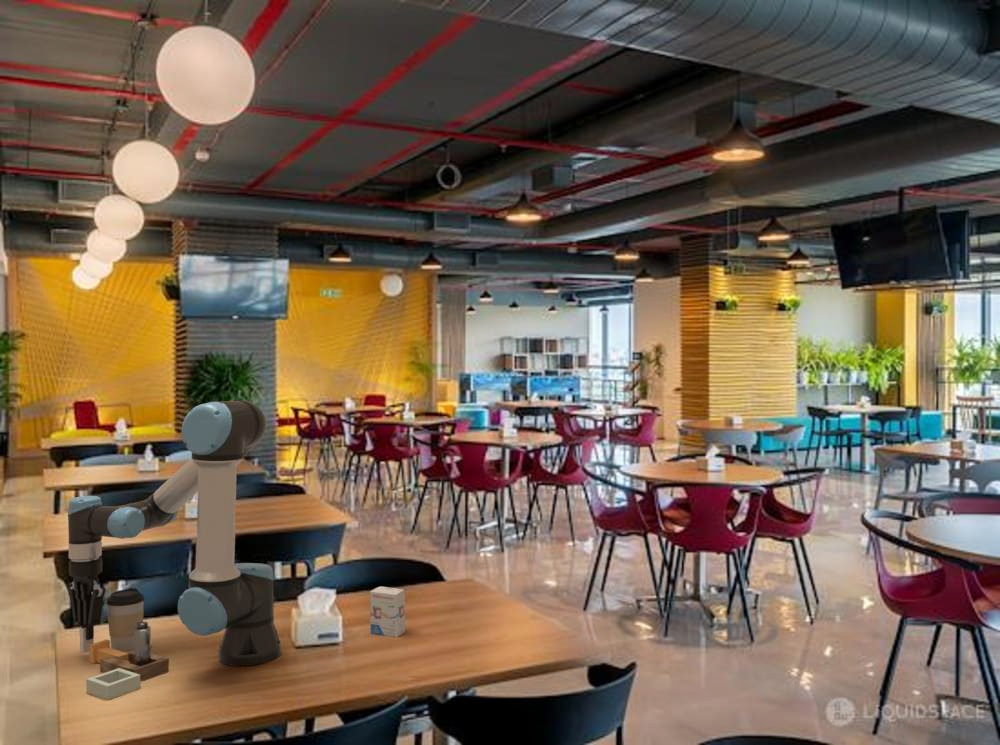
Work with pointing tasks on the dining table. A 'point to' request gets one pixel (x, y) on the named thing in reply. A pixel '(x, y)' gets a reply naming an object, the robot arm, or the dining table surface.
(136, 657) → the dark grey cylinder
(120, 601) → the coffee cup
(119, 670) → the square frame
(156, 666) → the socket block
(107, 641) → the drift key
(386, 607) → the ink box
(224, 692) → the dining table surface
